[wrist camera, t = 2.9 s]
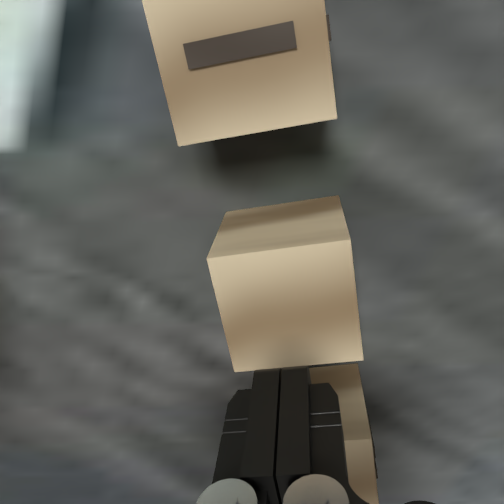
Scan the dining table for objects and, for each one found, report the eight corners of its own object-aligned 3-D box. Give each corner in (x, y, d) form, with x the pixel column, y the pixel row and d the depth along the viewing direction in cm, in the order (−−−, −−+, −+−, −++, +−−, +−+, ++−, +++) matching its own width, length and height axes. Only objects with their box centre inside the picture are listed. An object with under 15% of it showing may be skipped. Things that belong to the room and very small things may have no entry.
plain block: (226, 211, 21) (206, 258, 16) (338, 194, 20) (350, 239, 15) (246, 306, 23) (234, 372, 18) (349, 294, 22) (363, 360, 17)
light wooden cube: (261, 371, 24) (252, 446, 20) (359, 362, 23) (374, 438, 19) (276, 441, 26) (272, 524, 22) (368, 435, 25) (383, 520, 21)
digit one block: (176, -15, 17) (131, -35, 13) (314, -47, 16) (320, -82, 12) (206, 121, 19) (177, 147, 14) (330, 98, 18) (341, 118, 14)
